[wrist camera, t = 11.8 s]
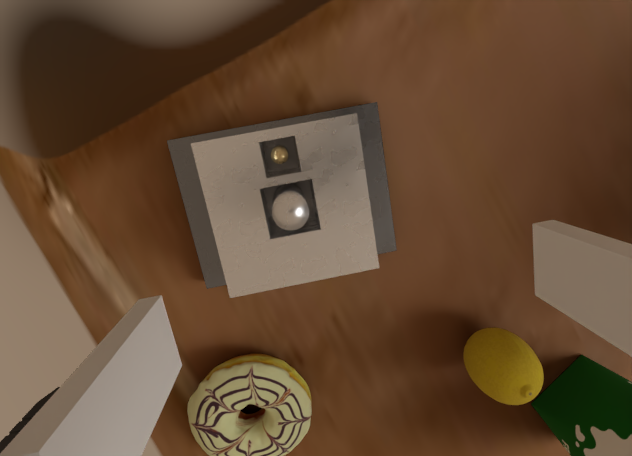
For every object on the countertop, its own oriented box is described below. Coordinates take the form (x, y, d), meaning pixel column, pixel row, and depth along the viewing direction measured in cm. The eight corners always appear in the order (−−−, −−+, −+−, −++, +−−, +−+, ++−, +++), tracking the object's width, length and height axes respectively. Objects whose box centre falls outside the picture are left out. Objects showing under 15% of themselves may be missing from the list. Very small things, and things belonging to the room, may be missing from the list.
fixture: (372, 103, 30) (399, 94, 24) (391, 245, 33) (419, 273, 27) (172, 140, 30) (140, 141, 23) (210, 281, 33) (191, 320, 26)
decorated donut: (170, 398, 35) (157, 428, 31) (253, 323, 34) (250, 345, 30) (250, 461, 38) (247, 496, 34) (331, 393, 36) (336, 421, 33)
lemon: (510, 351, 37) (571, 409, 29) (458, 373, 37) (505, 436, 29) (496, 303, 36) (556, 350, 28) (441, 326, 36) (486, 379, 28)
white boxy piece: (367, 251, 32) (379, 267, 28) (236, 277, 31) (230, 298, 27) (346, 116, 29) (357, 113, 25) (202, 142, 28) (190, 143, 25)
